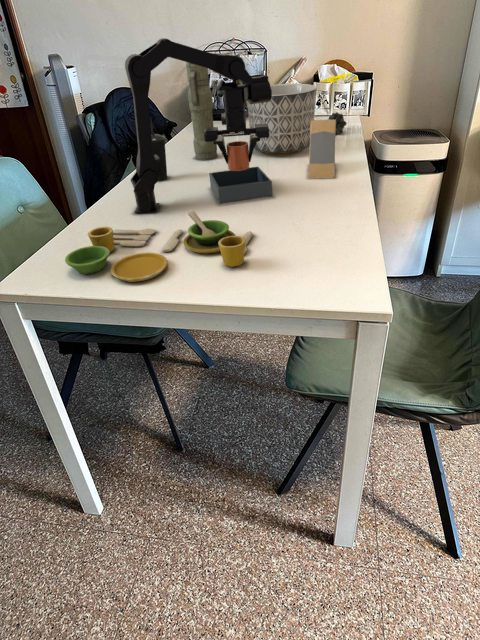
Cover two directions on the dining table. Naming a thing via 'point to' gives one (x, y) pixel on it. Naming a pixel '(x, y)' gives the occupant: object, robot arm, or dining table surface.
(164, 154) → the drinking cup
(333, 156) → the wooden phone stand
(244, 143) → the coffee cup
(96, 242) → the tableware set
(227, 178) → the tote
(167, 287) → the dining table surface
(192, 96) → the thermos
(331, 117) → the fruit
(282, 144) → the planter
